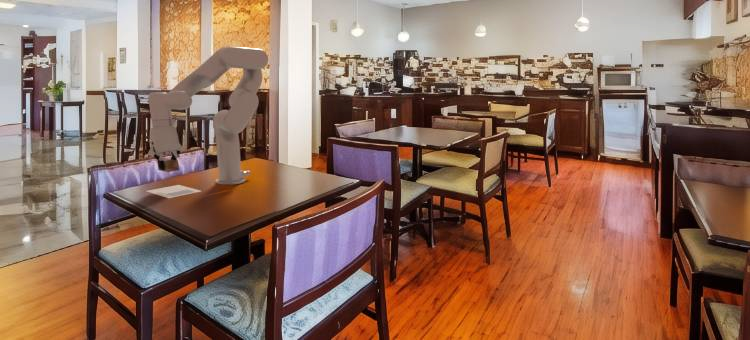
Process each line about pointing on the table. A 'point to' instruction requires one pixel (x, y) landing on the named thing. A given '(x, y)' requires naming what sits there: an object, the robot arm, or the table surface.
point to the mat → (173, 191)
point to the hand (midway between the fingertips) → (168, 168)
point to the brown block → (170, 165)
